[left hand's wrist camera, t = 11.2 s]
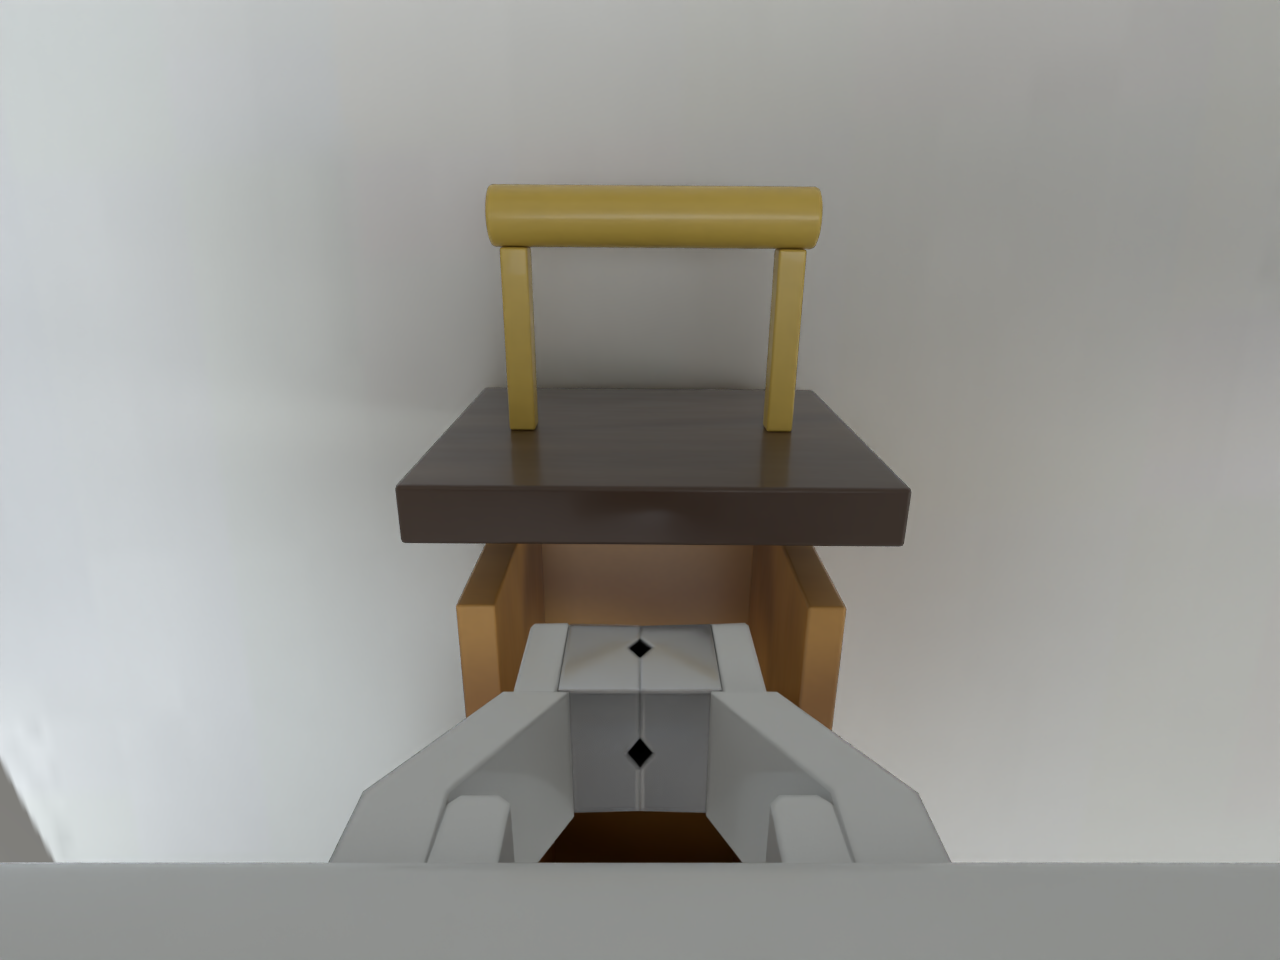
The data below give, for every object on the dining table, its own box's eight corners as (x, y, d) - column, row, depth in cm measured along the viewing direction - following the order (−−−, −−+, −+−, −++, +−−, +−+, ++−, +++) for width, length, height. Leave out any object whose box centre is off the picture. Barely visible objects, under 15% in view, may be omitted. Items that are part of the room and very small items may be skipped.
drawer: (470, 190, 19) (356, 171, 11) (830, 193, 19) (959, 176, 12) (517, 873, 28) (468, 1130, 20) (769, 874, 28) (819, 1132, 20)
